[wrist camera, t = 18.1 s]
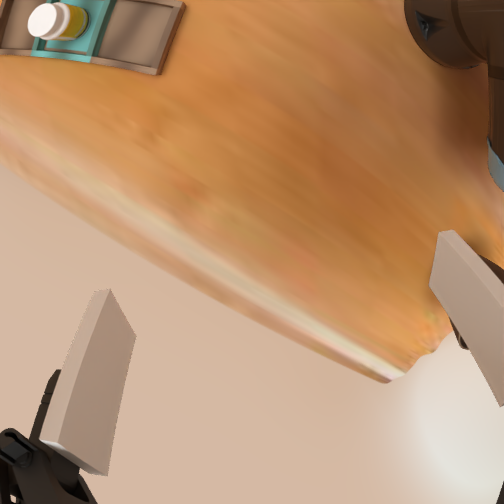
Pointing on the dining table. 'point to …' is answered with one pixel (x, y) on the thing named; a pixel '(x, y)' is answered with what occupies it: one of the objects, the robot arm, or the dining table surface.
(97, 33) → the tray
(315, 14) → the dining table surface
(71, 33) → the supplement bottle
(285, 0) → the dining table surface
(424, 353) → the dining table surface
